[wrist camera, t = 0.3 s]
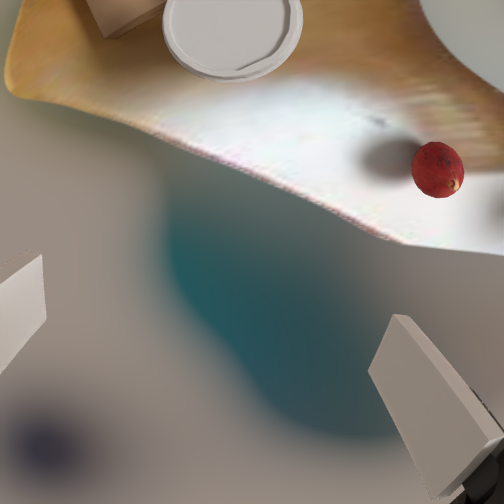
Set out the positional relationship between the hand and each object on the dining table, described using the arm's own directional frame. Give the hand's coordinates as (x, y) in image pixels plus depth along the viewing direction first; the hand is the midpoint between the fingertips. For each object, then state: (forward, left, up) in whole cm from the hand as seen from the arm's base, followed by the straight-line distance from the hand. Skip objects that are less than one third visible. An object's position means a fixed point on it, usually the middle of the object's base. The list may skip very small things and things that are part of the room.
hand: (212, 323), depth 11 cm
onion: (-18, +8, -26) cm, 32 cm away
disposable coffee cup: (-4, -11, -26) cm, 28 cm away
